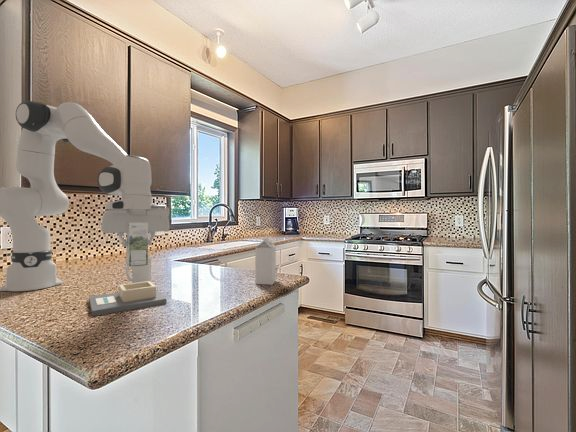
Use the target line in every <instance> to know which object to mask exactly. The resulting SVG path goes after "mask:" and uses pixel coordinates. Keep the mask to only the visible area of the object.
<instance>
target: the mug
mask: <svg viewBox="0 0 576 432" xmlns="http://www.w3.org/2000/svg"><path fill="white" fill-rule="evenodd" d="M125 272H126V273H125V274H126V277H127V280H128V282H131V283H138V282H146V281H150V282H152V256H148V265H143V266H131V273H130V267H129V266H128V265H127V264H126V266H125Z"/></svg>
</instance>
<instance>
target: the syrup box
mask: <svg viewBox="0 0 576 432" xmlns="http://www.w3.org/2000/svg"><path fill="white" fill-rule="evenodd" d="M148 239H149V232H148V222H129V226H128V233H126V241H128V247H126V255H125V257H126V266H127V265H128V266H129V268H130V267H131V268H132V266H143V265H148V257H149V245H148Z"/></svg>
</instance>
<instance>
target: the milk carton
mask: <svg viewBox="0 0 576 432" xmlns="http://www.w3.org/2000/svg"><path fill="white" fill-rule="evenodd" d="M262 240H263V241H261V243H259V244H258V245H257V246H256V247H255V250H254V252H255V253H254V254H255V257H254V258H255V261H254V262H255V269H254V271H255V272H254V273H255V283H254V284H255V285H267V286H268V285H271V286H273V284H274V283H275V282H276V279H277V276H276V275H277V274H276V273H277V271H276V269H277V266H276V265H277V263H276V262H277V261H276V260H277V258H276V257H277V256H276V255H277V254H276V253H277V250H276V245H275V244H274V241H272V240H269V237H268V236H266V237H264V238H263V239H262Z"/></svg>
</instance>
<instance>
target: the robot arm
mask: <svg viewBox="0 0 576 432" xmlns="http://www.w3.org/2000/svg"><path fill="white" fill-rule="evenodd" d="M15 119H16V122H17V124H18V125H19V126H20V127H21V128H22V129H21V132H20V135H19V140H18V144H17V153H16V162H15V163H16V164H15V169H16V171H17V173H18V174H19V175H20V176H22V177H24V178H26V179H27V180H28V182H29V184H30V187H25V186H24V187H23V186H22V187H20V186H6V187H5V186H4V187H0V217H1V218H2V219H3V220H4V221H5V222H6V223H7V225H8V227H9V228H10V231H11V232H10V233H11V235H12V236H11V237H12V252H11V256H10V258H11V259H10V261H11V264H9V266H8V267H6V268H5V285H3V286H1V287H0V292H26V291H28V292H29V291H35V290H40V289H42V290H43V289H47V288H50V287H53V286H59V285H62V284H63V283H64V282H63V280H62V279H60V278H58V277H57V276H58V272H57V264H56V263H55V262H53V261H52V258H53V253H52V250H51V232H50V230H49V229H48V228H46V227H45V226H44V225H40V224H39V223H38V222H37V220H36V217H45V216H46V217H47V216H48V217H52V216H58V215H61V214H64V213H65V212H66V211H68V209H69V205H70V202H69V201H70V200H69V197H68V196H67V194H65V192H63V191H62V190H61V188H60V187H59V185H58V184H57V182H56V177H55V174H54V173H55V171H54V170H55V155H56V144H57V142H58V141H60V140H62V141H63V143H69V142H70V143H71V145H73V146H74V147H75V148H76V149H78V150H80V151H81V152H84V153H86V154H89V155H94V156H96V157H99V158H102V159H103V160H106V161H108V162H109V163H110V164H112V165H110V166H109V165H108V166H105V167H103V168H101V170H100V171H99V172H98V176H97V186H98V188H99V189H100V190H101V191H102V192H103V193H104V194H108V195H111V196H121V199H116V200H113V201H111V202H107V203H106V204H105V209H106V210H105V211H104V212H103V214H102V218H101V224H100V225H101V226H100V231H101V232H102V233H103V234H117V235H118V238H119V239H120V241H121V243H122V244H121V245H122V248H127V247H128V241H127V240H125V239H124V236H125V233H126V234H127V233H128V226H129V222H148V236H149V235H150V236H149V237H148V246H152V241H153V239H154V238H155V236H156V232H159V233H160V232H168V231H169V230H170V228H171V227H170V219H169V217H170V214H171V213H170V211H171V210H170V208H169V207H168V206H166V205H165V204H152V192H151V191H152V189H153V180H152V167H151V162H150V161H149V160H148V159H147V158H146V157H143V156H142V157H141V156H137V155H132V154H127V152H126V151H125V150H124V149H123V148H122V147H121V146H120V145H119V144H117V143H116V141H115V140H113V138H111V137H110V136H109V135H108V134H107V133H106V132H105V131H104V129H102V128H101V126H100V125H99V123H97V121H96V120H95V118H94V117H93V116H92V115H91V114H90V113H89V111H88V110H86V109H85V108H84V106H82V105H80V104H79V103H76V102H72V101H67V102H63V103H61V104H59V105H58V106H53V105H49V104H45V103H43V102H42V103H41V102H39V101H35V100H34V101H33V100H25V101H23V102H21V103H19V104H18V105H17V107H16V111H15Z"/></svg>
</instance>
